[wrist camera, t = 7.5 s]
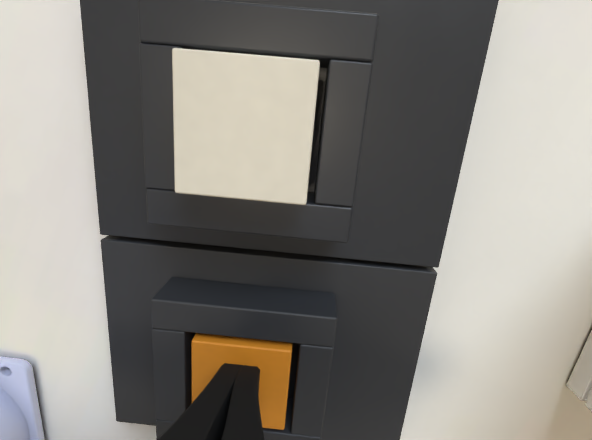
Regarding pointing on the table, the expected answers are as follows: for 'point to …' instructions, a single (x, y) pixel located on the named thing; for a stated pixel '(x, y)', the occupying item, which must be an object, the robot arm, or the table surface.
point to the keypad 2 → (327, 125)
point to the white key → (243, 125)
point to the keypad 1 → (267, 331)
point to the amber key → (250, 352)
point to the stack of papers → (583, 375)
